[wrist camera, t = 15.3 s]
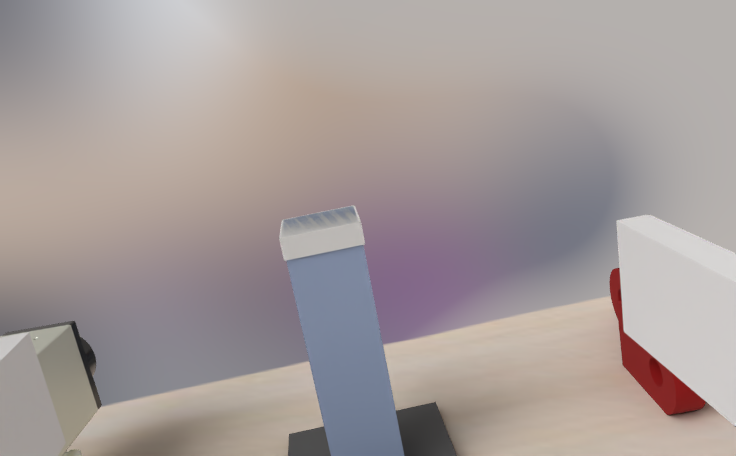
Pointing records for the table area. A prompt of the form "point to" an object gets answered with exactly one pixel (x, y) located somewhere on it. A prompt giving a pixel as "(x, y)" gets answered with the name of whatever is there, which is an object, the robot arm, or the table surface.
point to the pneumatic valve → (67, 376)
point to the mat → (417, 430)
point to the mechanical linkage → (651, 366)
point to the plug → (342, 332)
